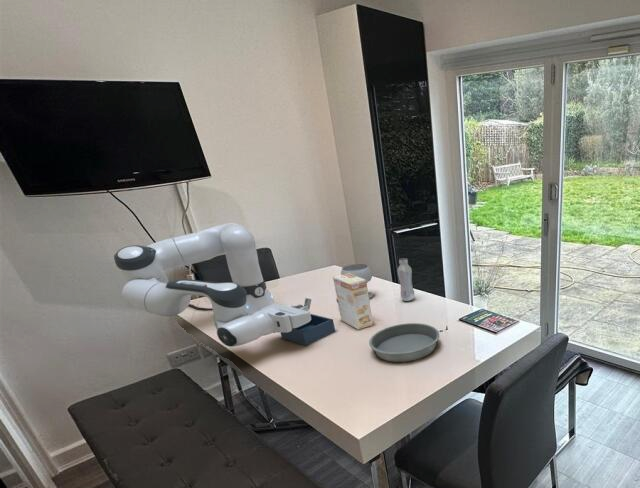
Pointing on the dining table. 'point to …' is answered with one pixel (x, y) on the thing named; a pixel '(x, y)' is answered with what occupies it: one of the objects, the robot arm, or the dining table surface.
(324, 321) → the basket
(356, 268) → the chalice
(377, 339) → the cake pan
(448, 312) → the dining table surface
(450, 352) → the dining table surface
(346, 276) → the coffeecake box
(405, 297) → the plastic bottle
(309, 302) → the lighter
